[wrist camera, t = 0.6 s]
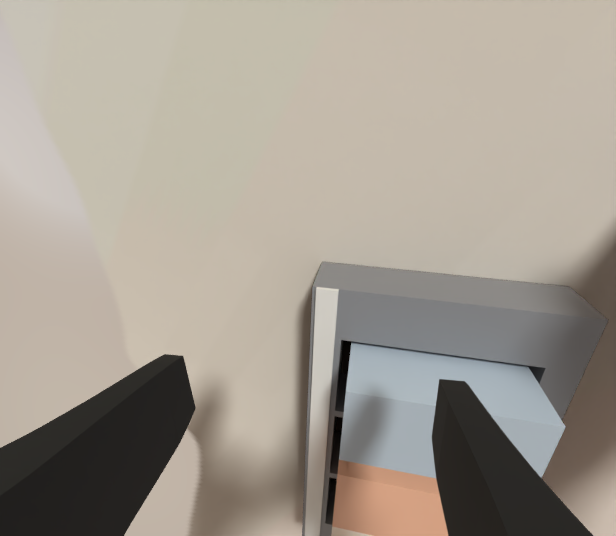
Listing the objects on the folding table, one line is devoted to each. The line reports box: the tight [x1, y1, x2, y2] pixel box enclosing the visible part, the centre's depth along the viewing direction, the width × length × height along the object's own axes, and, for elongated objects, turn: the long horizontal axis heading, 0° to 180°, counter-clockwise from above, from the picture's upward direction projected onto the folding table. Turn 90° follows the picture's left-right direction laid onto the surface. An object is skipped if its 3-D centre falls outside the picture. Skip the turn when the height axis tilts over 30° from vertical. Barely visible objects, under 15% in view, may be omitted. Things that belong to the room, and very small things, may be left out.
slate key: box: [339, 341, 566, 478], centre depth 15 cm, size 8×4×4 cm, turn 87°
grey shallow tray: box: [302, 262, 608, 536], centre depth 20 cm, size 12×20×3 cm, turn 177°
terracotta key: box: [332, 460, 448, 536], centre depth 17 cm, size 8×4×4 cm, turn 87°
